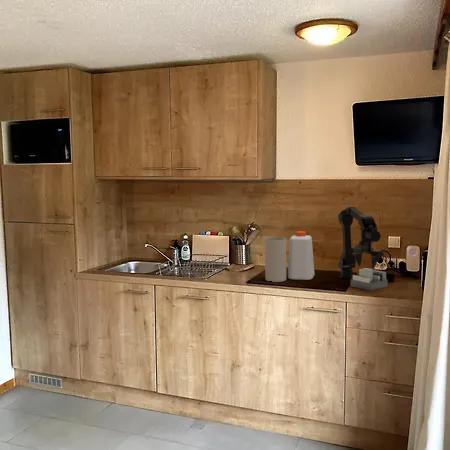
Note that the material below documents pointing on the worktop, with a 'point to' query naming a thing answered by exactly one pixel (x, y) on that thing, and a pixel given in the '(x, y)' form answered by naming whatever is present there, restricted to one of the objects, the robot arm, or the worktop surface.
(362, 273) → the block
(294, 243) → the plastic bottle
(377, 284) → the base
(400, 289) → the worktop surface
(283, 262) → the cylinder vase
